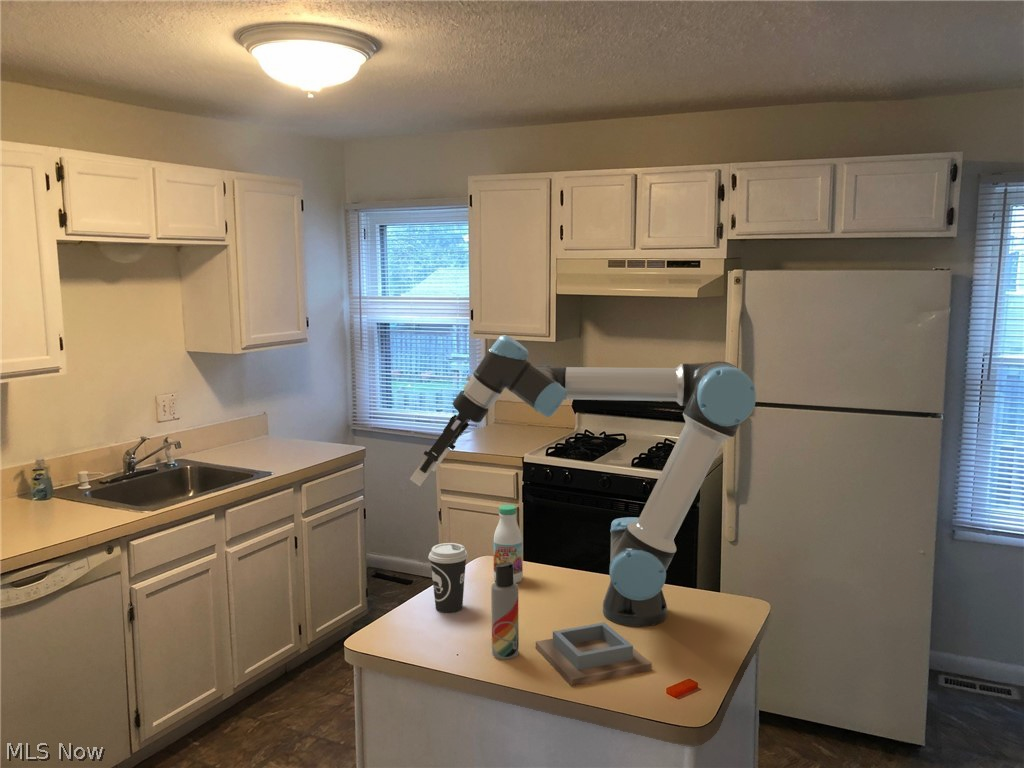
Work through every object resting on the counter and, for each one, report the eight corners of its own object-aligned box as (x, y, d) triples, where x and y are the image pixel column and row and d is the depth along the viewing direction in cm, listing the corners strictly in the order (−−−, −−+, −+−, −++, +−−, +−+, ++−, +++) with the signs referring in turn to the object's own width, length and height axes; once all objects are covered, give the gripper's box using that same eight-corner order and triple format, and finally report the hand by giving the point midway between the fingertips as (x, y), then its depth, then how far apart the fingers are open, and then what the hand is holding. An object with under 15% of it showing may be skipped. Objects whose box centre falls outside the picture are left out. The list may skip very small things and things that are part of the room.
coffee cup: (463, 617, 189) (462, 556, 188) (424, 614, 191) (423, 553, 190) (473, 601, 199) (472, 543, 197) (435, 598, 201) (434, 540, 199)
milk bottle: (492, 575, 217) (492, 503, 214) (521, 574, 217) (520, 502, 215) (494, 585, 209) (493, 511, 207) (524, 584, 210) (523, 510, 207)
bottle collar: (604, 635, 176) (604, 622, 175) (632, 659, 164) (632, 645, 164) (552, 644, 171) (552, 631, 171) (578, 670, 160) (578, 656, 159)
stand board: (609, 634, 180) (609, 628, 179) (651, 670, 163) (651, 663, 163) (535, 648, 173) (535, 641, 173) (571, 686, 156) (571, 679, 156)
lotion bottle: (509, 662, 167) (508, 569, 164) (486, 655, 170) (485, 564, 167) (523, 651, 171) (523, 561, 169) (501, 645, 174) (500, 556, 172)
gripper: (472, 382, 188) (422, 453, 192) (450, 396, 164) (393, 478, 167) (498, 401, 188) (447, 472, 192) (480, 418, 163) (422, 499, 167)
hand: (422, 475), depth 179 cm, fingers open, 13 cm apart
